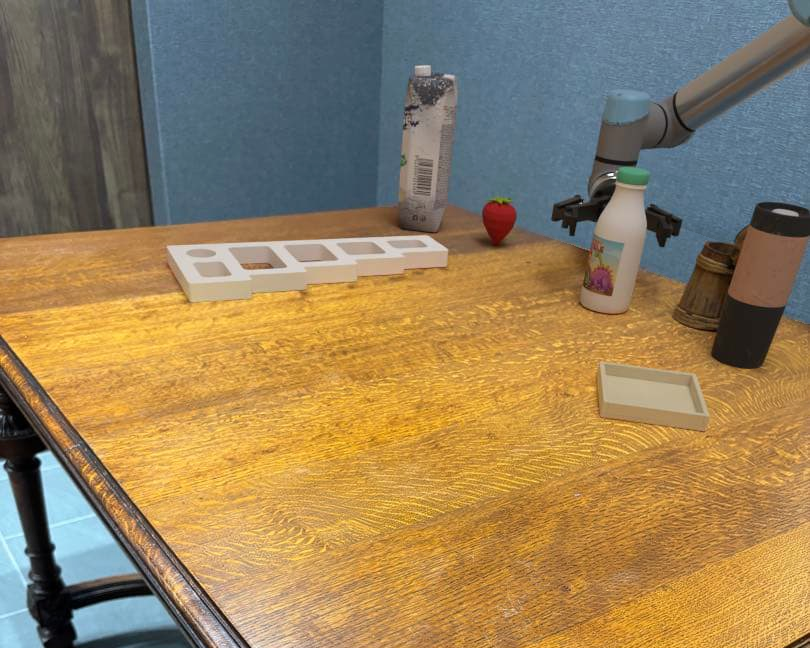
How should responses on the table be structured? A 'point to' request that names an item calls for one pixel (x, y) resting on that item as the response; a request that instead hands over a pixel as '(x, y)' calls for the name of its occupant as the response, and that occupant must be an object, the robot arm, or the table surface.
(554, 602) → the table surface
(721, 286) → the wooden mug
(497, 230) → the strawberry
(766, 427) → the table surface
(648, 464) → the table surface
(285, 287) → the holder
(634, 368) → the cream tray
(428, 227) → the juice carton
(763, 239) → the travel mug
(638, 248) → the milk bottle
